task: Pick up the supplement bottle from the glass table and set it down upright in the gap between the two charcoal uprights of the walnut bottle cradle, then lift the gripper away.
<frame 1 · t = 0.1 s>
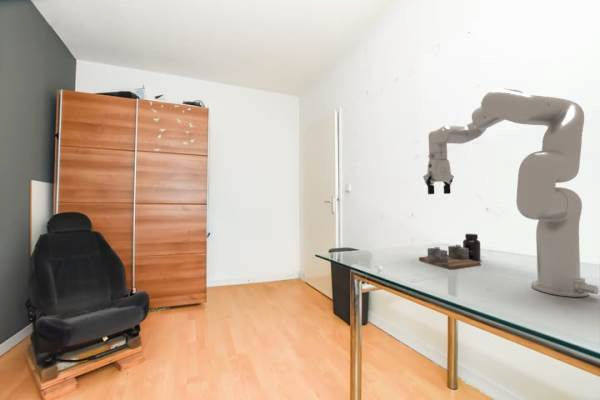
hand: (439, 193, 125), 31 cm above the table, tool pointing down, fingers open, 9 cm apart
supplement bottle: (471, 260, 125), on the table
bottle cradle: (448, 262, 120), on the table
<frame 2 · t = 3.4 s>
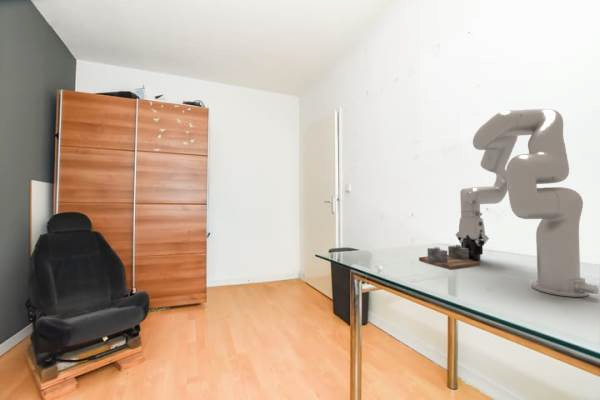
hand: (471, 252, 125), 3 cm above the table, tool pointing down, fingers closed on supplement bottle, 6 cm apart
supplement bottle: (472, 260, 125), on the table, touching gripper
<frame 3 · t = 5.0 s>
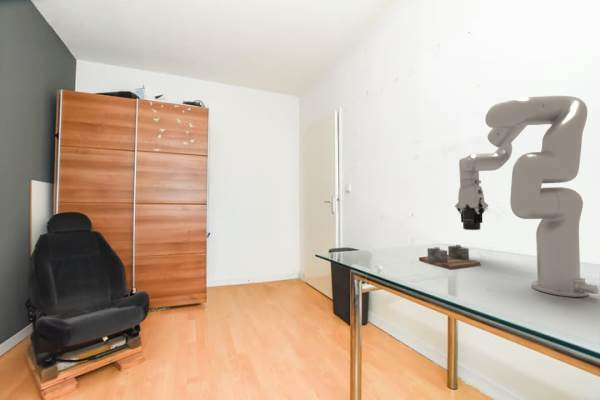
hand: (471, 222, 124), 18 cm above the table, tool pointing down, fingers closed on supplement bottle, 6 cm apart
supplement bottle: (471, 229, 124), point 14 cm above the table, touching gripper
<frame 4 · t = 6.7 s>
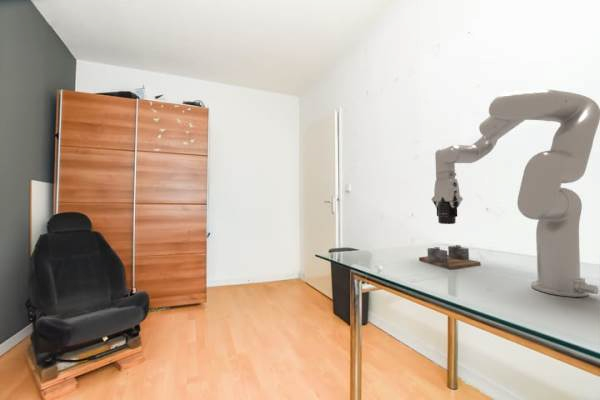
hand: (446, 216, 120), 21 cm above the table, tool pointing down, fingers closed on supplement bottle, 6 cm apart
supplement bottle: (447, 223, 120), point 18 cm above the table, touching gripper
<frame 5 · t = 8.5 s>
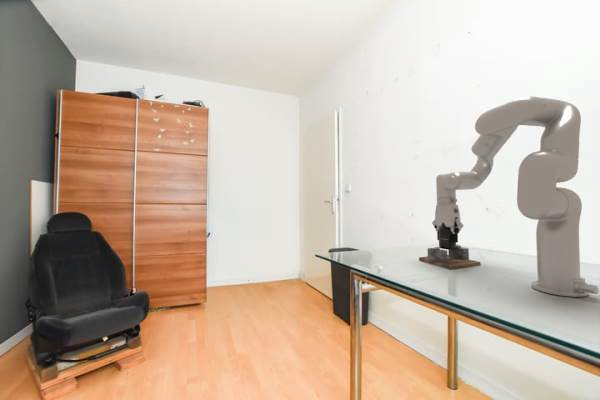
hand: (447, 241, 120), 10 cm above the table, tool pointing down, fingers closed on supplement bottle, 6 cm apart
supplement bottle: (447, 248, 120), point 6 cm above the table, touching gripper
when the fingers open (7 cm above the table, at t = 10.2 s): supplement bottle drops 2 cm, resting on bottle cradle.
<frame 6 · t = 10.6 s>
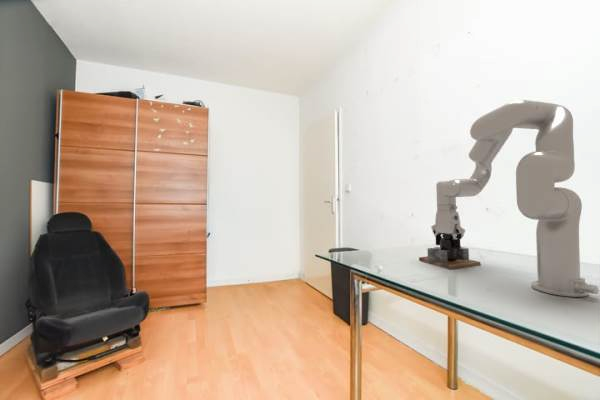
hand: (447, 246, 120), 7 cm above the table, tool pointing down, fingers open, 9 cm apart
supplement bottle: (448, 260, 120), point 1 cm above the table, touching bottle cradle
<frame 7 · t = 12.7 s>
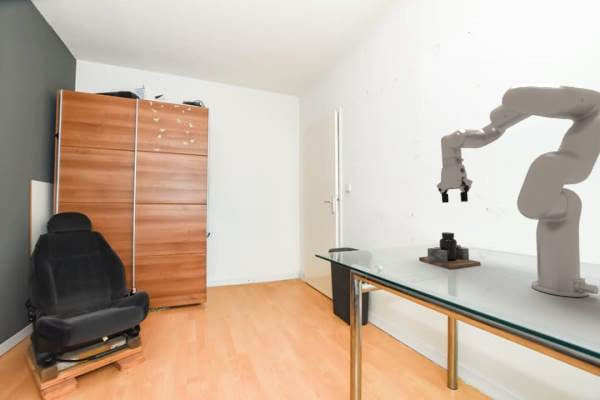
hand: (454, 202, 117), 27 cm above the table, tool pointing down, fingers open, 9 cm apart
nothing on the table moved.
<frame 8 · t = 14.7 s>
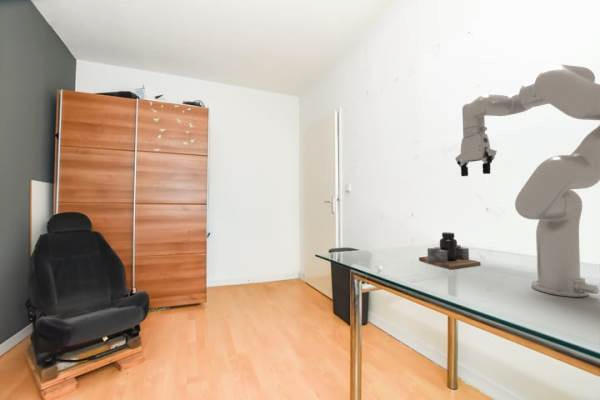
hand: (475, 174, 110), 38 cm above the table, tool pointing down, fingers open, 9 cm apart
nothing on the table moved.
at the end: supplement bottle 0.3 cm off-centre on the bottle cradle, point 1.3 cm above the bottle cradle's base; supplement bottle tilted 0°; the gripper is holding nothing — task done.
